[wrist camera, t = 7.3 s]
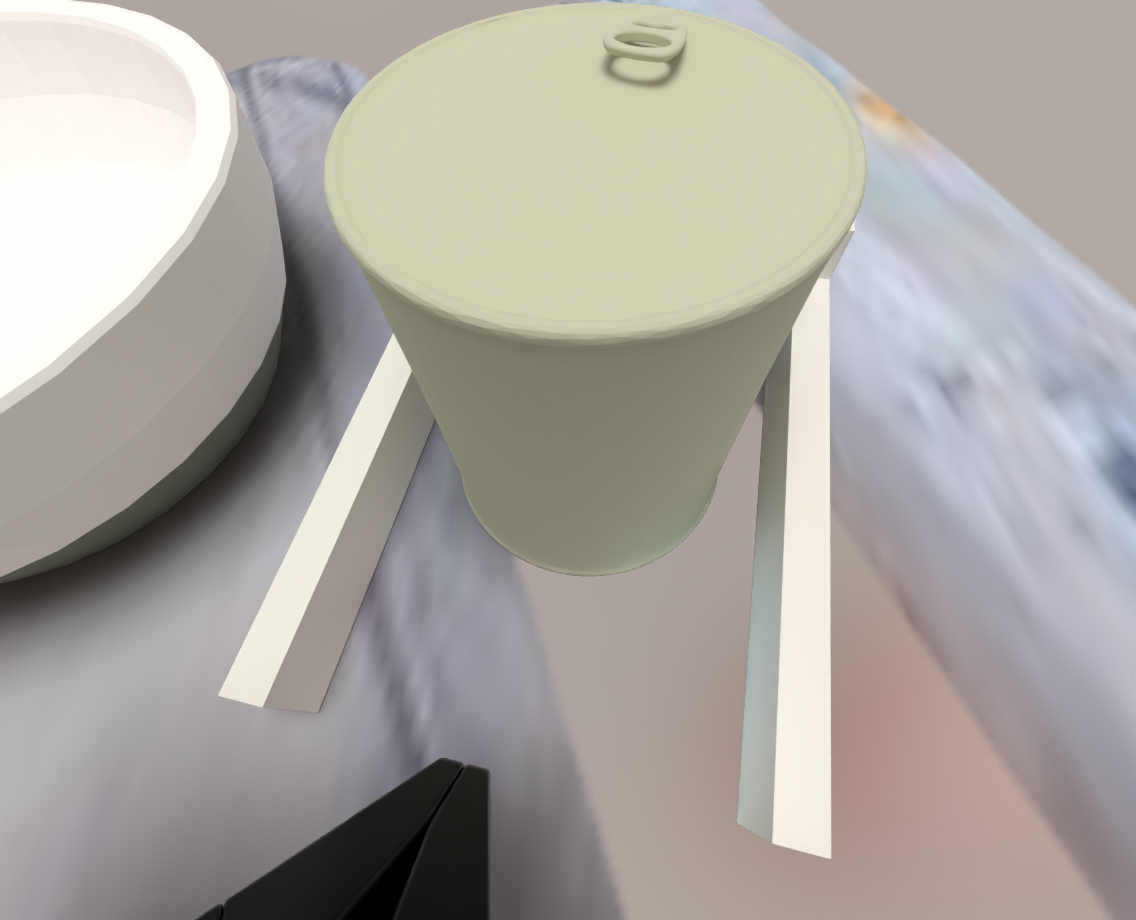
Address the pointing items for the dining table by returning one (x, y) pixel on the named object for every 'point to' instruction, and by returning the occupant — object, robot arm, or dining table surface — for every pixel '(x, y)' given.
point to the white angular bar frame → (779, 587)
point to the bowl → (123, 276)
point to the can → (593, 255)
